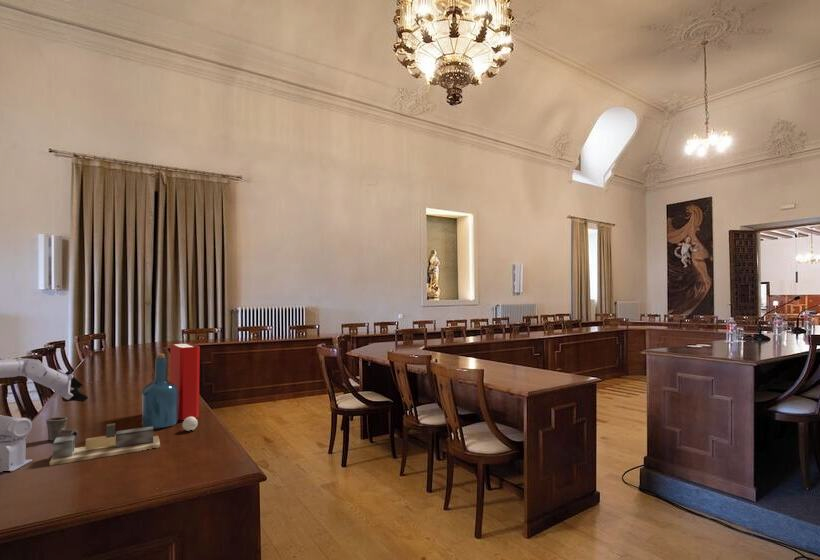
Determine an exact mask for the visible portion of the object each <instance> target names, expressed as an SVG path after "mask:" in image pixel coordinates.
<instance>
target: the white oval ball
mask: <svg viewBox="0 0 820 560" xmlns="http://www.w3.org/2000/svg"><path fill="white" fill-rule="evenodd" d="M199 423H200V421H199V422H198V419H196V418H195V417H192V416H191V417H187V418H186V419H185V420H184V421H182V424H181V425H182V428H183V430H184V431H187V432H191V431H190V430H192V431H194V430H195V429H196V428H197V427H198V424H199Z"/></svg>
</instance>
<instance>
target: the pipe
mask: <svg viewBox="0 0 820 560" xmlns="http://www.w3.org/2000/svg"><path fill="white" fill-rule="evenodd" d="M67 421H68V417H65V416H58V417H57V416H55V417H48V418H46V419H45V422H46V427H47V435H48V436H47V439H48V440H49V441H50V442H51V441H53V442H54V441H55V439H56V437H63V436H71V435H75V440H76V439H77V438H78V437H79V432H78V430H77V429H73V428H72V429H66V427H67Z"/></svg>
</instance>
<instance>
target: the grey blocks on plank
mask: <svg viewBox="0 0 820 560" xmlns="http://www.w3.org/2000/svg"><path fill="white" fill-rule="evenodd" d="M154 430H155V429H153V426H150V427H143V426H142V427H138V428H137V427H136V428H130V429H123V430H115V434H116V445H114V446H107V447H100V448H94V449H87V450H86V446H81V447H75V443H76V442H75V441H76V439H75V435H71V436H63V437H56V439H55V441H53V444H52V445H53V446H52V457H51V459H50V461H49V466H50V467H51V466H55V465H60V464H61V465H62V464H68V463H73V462H74V463H76V462H81V461H87V460H92V459H98V458H99V459H101V458H105V457H111V456H112V457H113V456H117V455H118V456H119V455H123V454H129V453H135V452H143V451H148V450H147V449H149V450H153V449H152V448H156V449H160V448H161V442H160V441H161V440H160V438H159V435H155V436H154ZM159 447H160V448H159ZM142 450H143V451H142Z"/></svg>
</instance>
